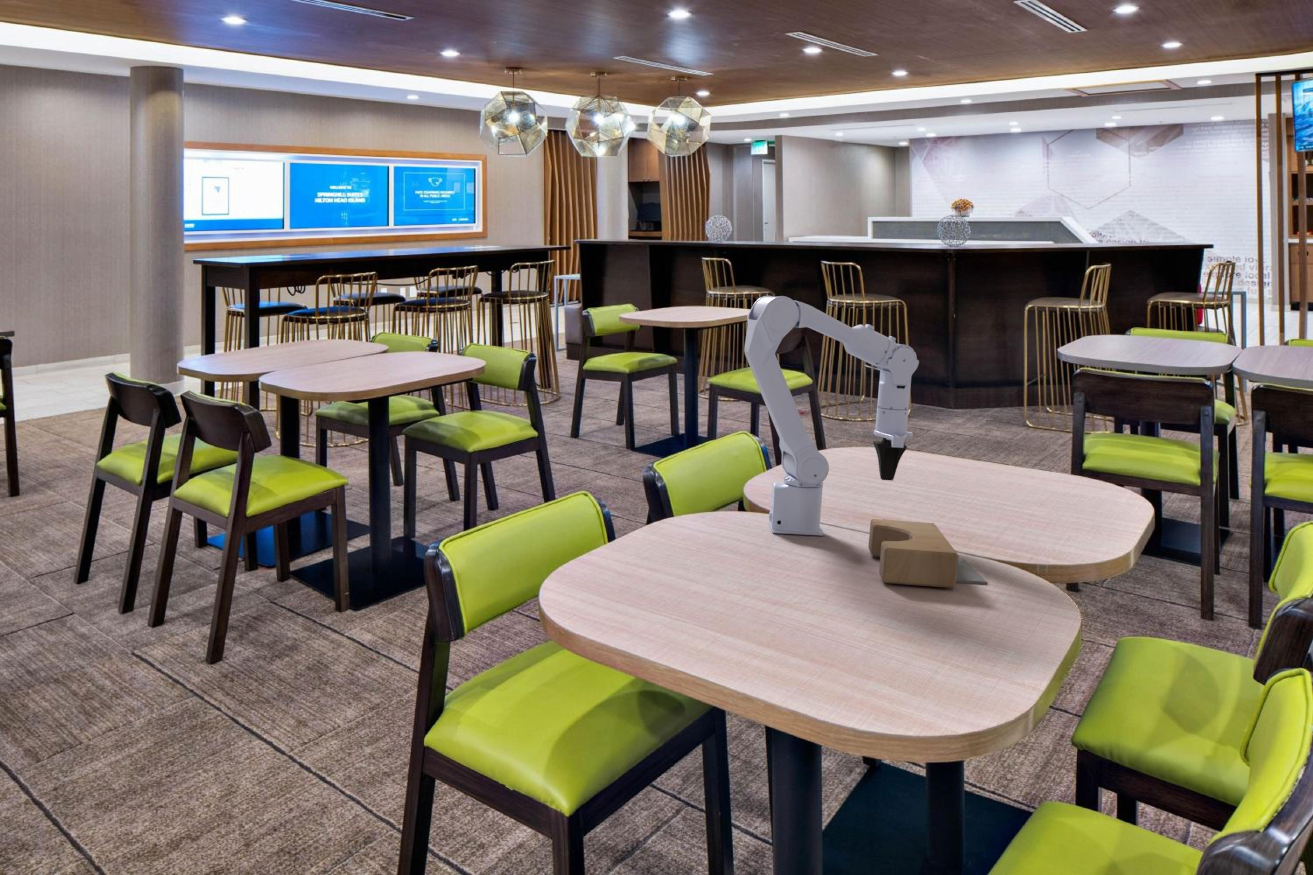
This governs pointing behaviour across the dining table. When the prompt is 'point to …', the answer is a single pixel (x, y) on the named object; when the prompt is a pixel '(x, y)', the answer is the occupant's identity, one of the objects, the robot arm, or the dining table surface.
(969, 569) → the grey flat plate
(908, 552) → the decorative block
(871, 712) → the dining table surface
